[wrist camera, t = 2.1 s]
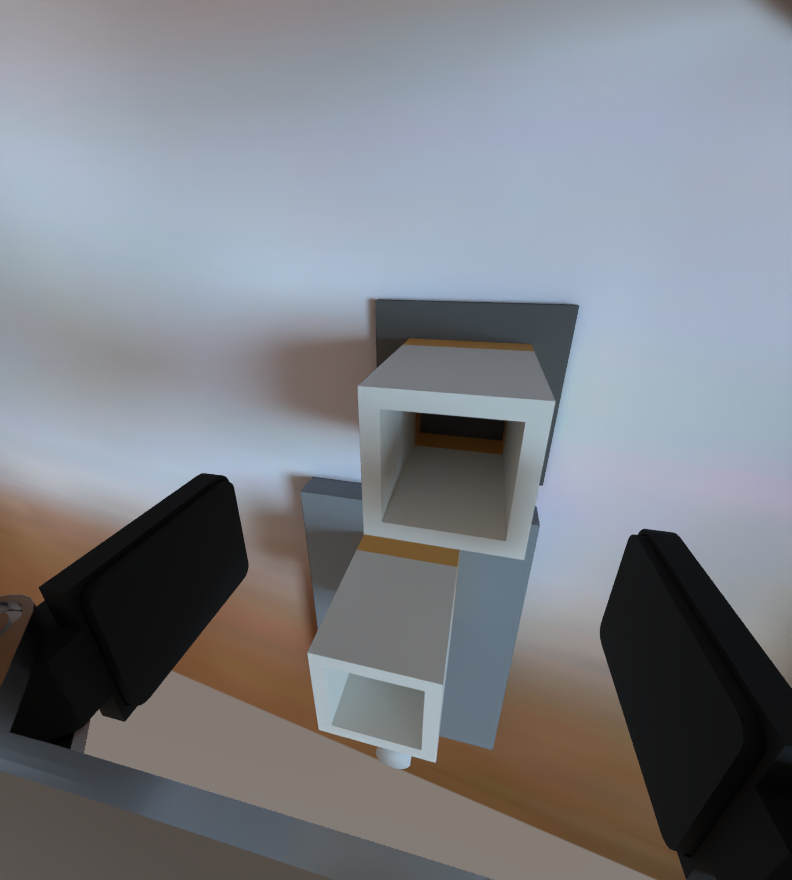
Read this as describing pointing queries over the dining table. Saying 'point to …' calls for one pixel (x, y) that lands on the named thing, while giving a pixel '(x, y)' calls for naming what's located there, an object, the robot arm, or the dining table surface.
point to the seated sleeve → (387, 646)
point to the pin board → (474, 619)
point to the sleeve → (454, 445)
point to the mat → (481, 323)
